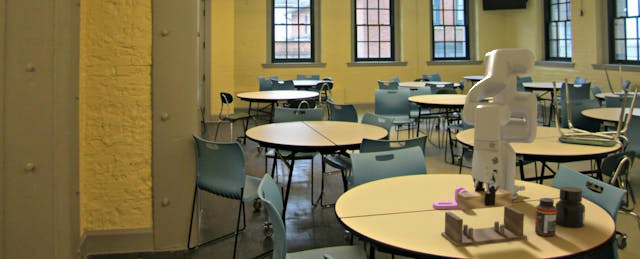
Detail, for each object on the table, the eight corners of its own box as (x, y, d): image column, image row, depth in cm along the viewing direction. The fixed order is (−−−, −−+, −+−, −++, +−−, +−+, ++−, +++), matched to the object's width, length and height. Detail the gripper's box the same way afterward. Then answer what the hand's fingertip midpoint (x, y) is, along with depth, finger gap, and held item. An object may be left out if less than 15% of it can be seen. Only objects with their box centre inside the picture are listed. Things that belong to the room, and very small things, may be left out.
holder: (507, 227, 168) (508, 205, 167) (526, 238, 158) (528, 214, 157) (441, 235, 162) (441, 211, 161) (456, 246, 152) (457, 221, 151)
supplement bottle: (531, 231, 165) (532, 197, 163) (548, 230, 165) (550, 196, 163) (540, 237, 159) (542, 202, 157) (559, 236, 159) (561, 201, 158)
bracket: (464, 204, 195) (464, 186, 194) (469, 208, 190) (469, 190, 189) (430, 205, 194) (431, 187, 193) (434, 209, 189) (435, 191, 188)
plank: (502, 201, 163) (502, 189, 162) (511, 205, 158) (512, 193, 157) (456, 205, 159) (457, 193, 158) (465, 210, 154) (465, 197, 153)
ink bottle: (591, 227, 167) (593, 192, 165) (567, 229, 165) (569, 193, 164) (570, 218, 177) (572, 184, 175) (548, 220, 175) (550, 186, 173)
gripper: (514, 149, 148) (511, 209, 151) (482, 140, 165) (480, 195, 167) (491, 150, 147) (489, 211, 149) (461, 141, 163) (459, 196, 166)
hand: (484, 202), depth 158 cm, fingers closed on plank, 5 cm apart
